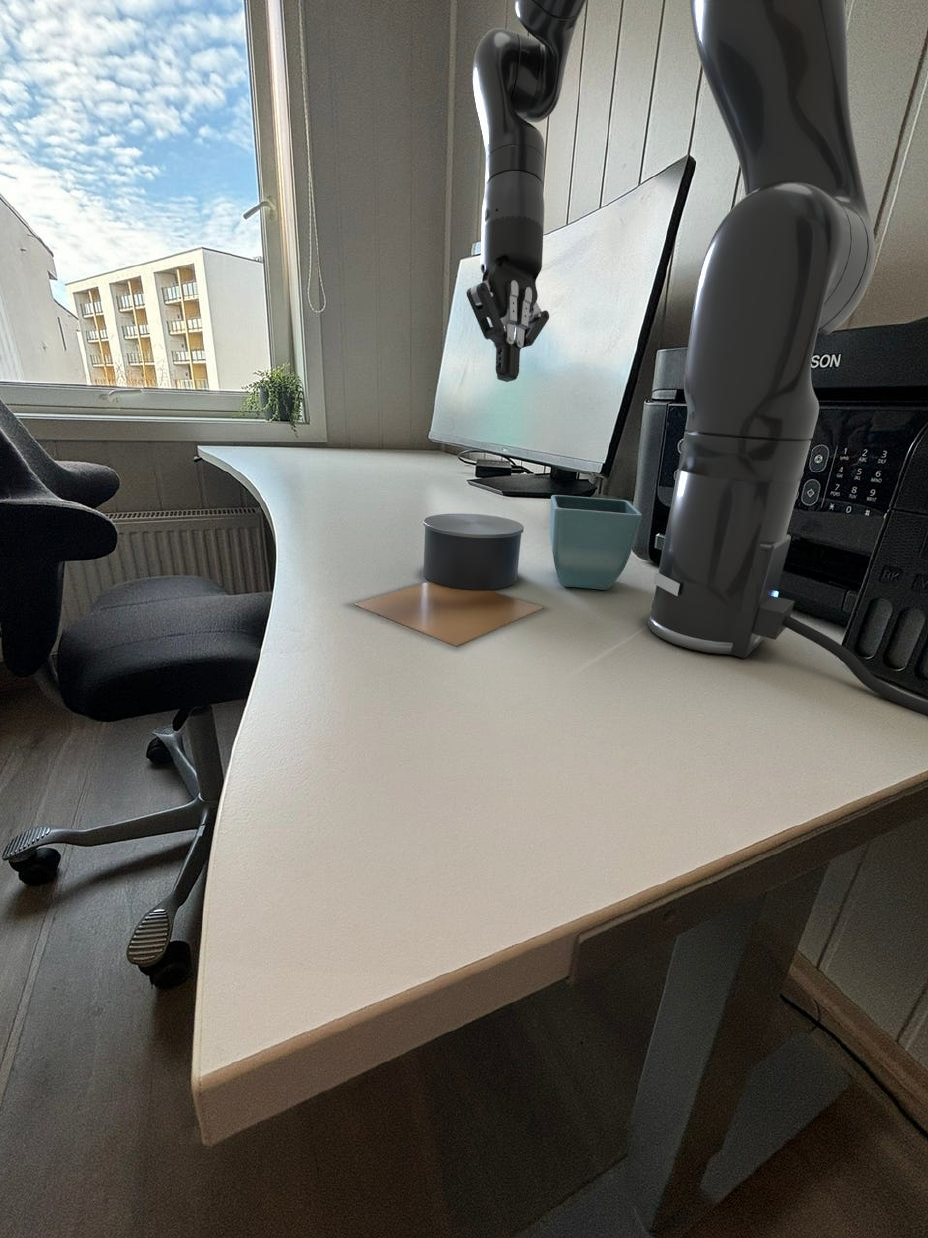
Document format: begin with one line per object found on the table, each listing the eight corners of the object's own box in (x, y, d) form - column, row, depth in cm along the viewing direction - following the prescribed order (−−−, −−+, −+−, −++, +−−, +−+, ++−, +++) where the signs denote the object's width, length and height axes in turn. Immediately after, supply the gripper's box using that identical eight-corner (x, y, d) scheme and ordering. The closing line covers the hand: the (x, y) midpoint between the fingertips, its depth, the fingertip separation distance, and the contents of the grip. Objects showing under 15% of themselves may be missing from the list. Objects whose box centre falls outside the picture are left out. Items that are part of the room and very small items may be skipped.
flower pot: (616, 574, 68) (628, 499, 64) (629, 599, 59) (643, 514, 56) (542, 568, 68) (550, 493, 65) (545, 592, 60) (554, 508, 57)
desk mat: (543, 609, 55) (543, 607, 55) (456, 647, 46) (456, 645, 46) (445, 577, 63) (445, 576, 63) (353, 605, 54) (353, 603, 54)
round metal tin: (537, 578, 65) (543, 526, 63) (477, 598, 57) (481, 539, 55) (464, 557, 71) (467, 510, 69) (401, 573, 63) (402, 519, 61)
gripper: (496, 193, 61) (490, 361, 64) (570, 238, 70) (563, 384, 73) (451, 220, 67) (447, 374, 69) (525, 259, 76) (520, 394, 78)
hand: (507, 379), depth 71 cm, fingers closed
